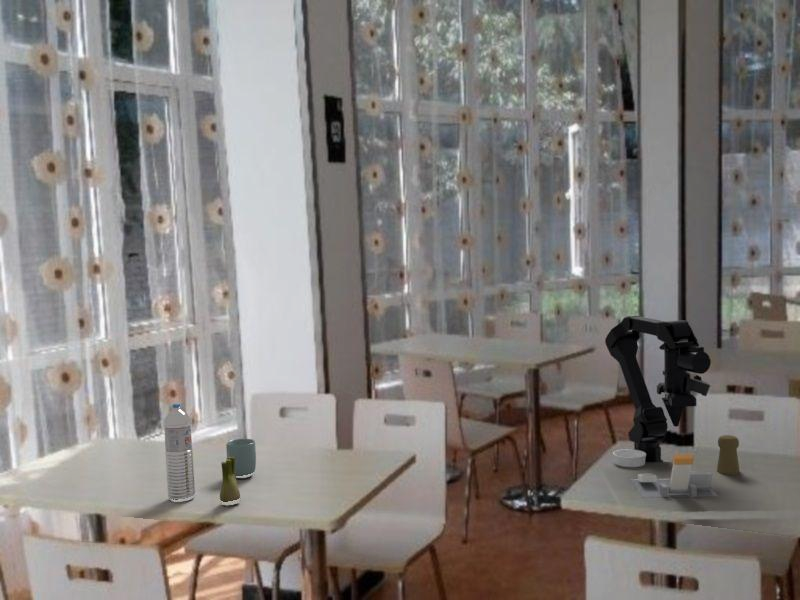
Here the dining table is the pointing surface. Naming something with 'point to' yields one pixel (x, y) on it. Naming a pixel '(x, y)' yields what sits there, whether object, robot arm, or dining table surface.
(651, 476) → the rocker
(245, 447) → the cup
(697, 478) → the grey rectangular panel
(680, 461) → the lever
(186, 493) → the water bottle
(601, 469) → the dining table surface
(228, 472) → the fennel bulb
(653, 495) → the grey tray
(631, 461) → the ramekin
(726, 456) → the cork
